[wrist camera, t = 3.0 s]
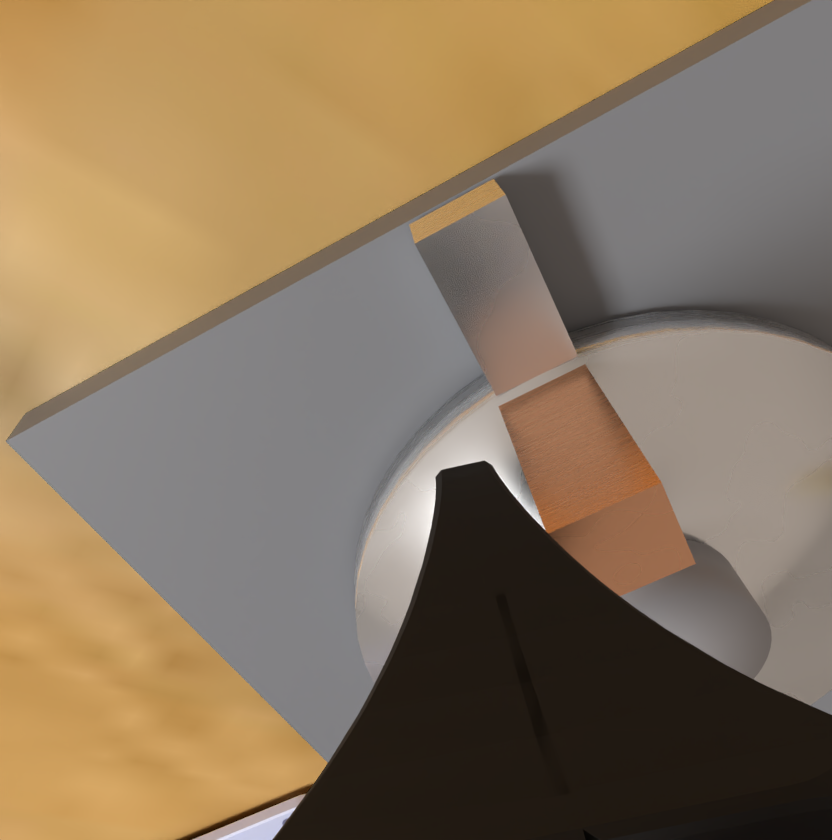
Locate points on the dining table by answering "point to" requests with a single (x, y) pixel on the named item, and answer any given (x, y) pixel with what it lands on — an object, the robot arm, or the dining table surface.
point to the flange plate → (673, 410)
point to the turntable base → (449, 359)
